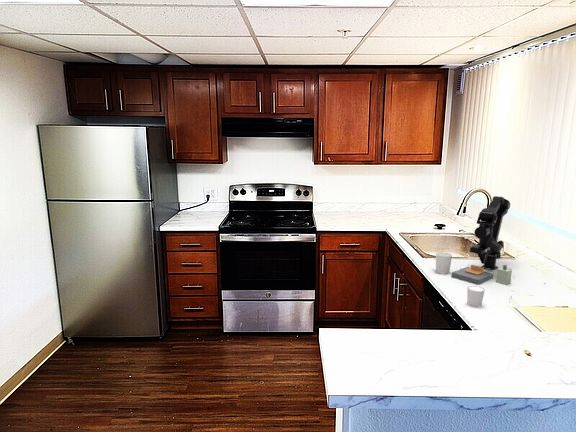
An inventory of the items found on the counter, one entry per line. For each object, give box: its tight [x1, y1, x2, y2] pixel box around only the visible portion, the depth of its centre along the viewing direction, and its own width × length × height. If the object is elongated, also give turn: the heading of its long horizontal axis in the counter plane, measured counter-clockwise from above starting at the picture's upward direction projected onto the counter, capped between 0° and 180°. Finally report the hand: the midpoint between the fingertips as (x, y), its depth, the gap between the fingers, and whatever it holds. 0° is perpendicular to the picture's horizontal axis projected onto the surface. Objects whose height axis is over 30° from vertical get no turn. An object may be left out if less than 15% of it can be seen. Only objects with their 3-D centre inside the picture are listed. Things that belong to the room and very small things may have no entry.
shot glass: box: [466, 285, 485, 308], centre depth 174 cm, size 7×7×7 cm
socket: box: [450, 266, 494, 286], centre depth 206 cm, size 15×14×2 cm
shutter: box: [465, 264, 485, 275], centre depth 207 cm, size 6×7×2 cm
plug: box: [495, 264, 513, 286], centre depth 199 cm, size 4×5×9 cm
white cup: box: [435, 251, 453, 275], centre depth 214 cm, size 8×8×10 cm
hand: (482, 263), depth 211 cm, fingers closed
